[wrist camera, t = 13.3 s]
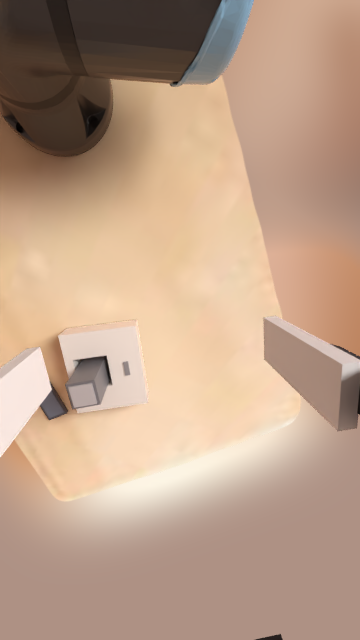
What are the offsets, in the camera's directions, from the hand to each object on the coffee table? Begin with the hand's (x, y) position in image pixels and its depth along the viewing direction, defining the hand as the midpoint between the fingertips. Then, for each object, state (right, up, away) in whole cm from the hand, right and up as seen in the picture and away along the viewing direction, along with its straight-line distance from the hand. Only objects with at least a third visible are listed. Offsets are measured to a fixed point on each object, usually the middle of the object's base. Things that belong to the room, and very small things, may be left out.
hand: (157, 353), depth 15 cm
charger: (-13, -6, +30) cm, 33 cm away
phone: (-23, -13, +32) cm, 41 cm away
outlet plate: (-11, -5, +30) cm, 33 cm away
